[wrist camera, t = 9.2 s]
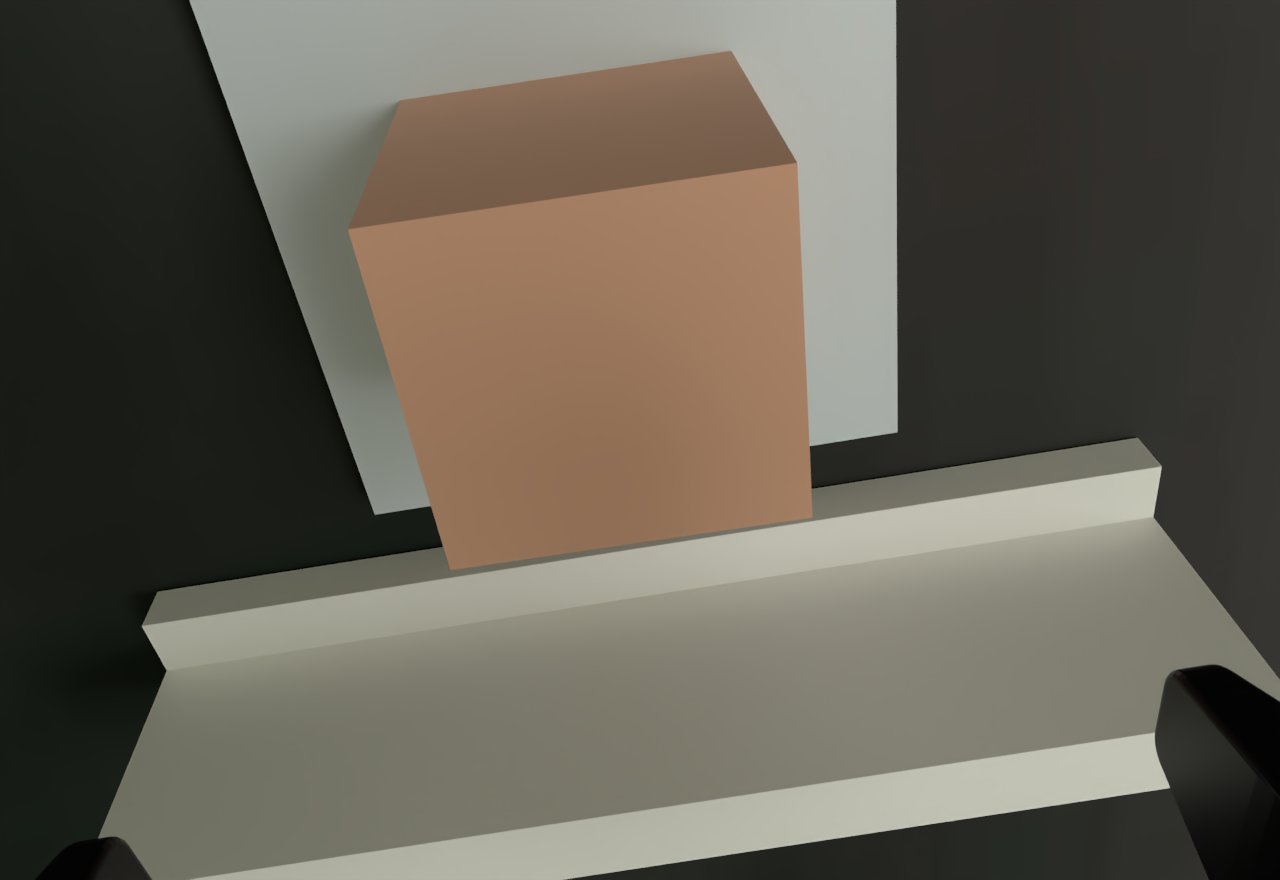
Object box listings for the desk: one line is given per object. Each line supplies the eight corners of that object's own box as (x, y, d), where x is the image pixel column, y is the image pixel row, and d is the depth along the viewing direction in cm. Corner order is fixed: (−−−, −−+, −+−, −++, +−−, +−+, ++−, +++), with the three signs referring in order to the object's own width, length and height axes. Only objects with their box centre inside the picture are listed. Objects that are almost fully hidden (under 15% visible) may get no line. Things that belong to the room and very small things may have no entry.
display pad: (888, 415, 20) (897, 432, 20) (379, 495, 20) (374, 514, 20) (883, -180, 15) (894, -178, 14) (182, -62, 15) (169, -56, 14)
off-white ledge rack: (1115, 586, 23) (1269, 817, 18) (228, 723, 24) (142, 986, 19) (1137, 437, 21) (1320, 654, 16) (157, 591, 21) (39, 850, 16)
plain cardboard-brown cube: (753, 352, 19) (813, 529, 14) (474, 393, 19) (454, 581, 14) (731, 50, 16) (796, 163, 12) (400, 100, 16) (347, 229, 12)
